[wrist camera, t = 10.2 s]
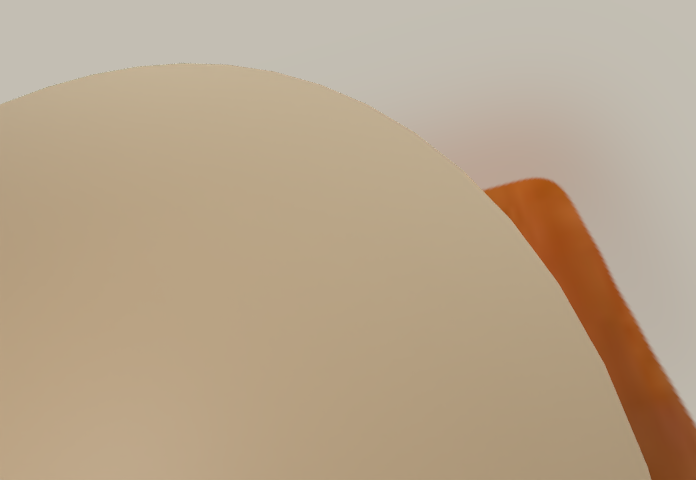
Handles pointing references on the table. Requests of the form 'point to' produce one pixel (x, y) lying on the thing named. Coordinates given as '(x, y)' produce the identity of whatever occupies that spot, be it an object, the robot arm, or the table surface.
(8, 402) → the strut
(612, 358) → the table surface
